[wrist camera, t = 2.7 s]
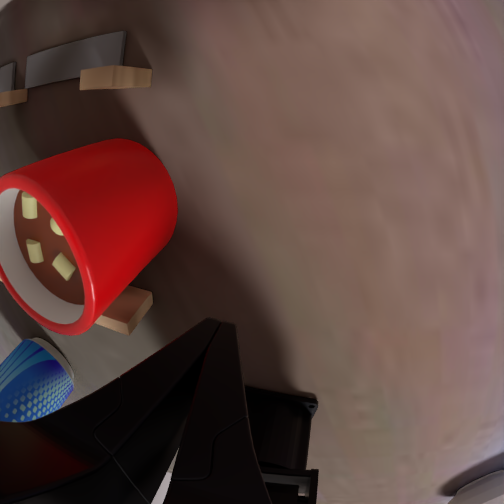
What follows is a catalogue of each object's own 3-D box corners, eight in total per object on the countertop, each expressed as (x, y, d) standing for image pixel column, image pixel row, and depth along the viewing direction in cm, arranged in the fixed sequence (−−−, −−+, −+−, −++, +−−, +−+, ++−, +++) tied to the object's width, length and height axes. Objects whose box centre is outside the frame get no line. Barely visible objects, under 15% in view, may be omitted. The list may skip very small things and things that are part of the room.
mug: (41, 119, 15) (-52, 147, 9) (190, 156, 15) (95, 206, 8) (38, 219, 19) (-35, 266, 12) (166, 276, 19) (101, 362, 12)
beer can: (19, 323, 28) (-57, 408, 13) (64, 344, 26) (-19, 451, 12) (43, 370, 31) (-17, 450, 17) (87, 392, 30) (26, 488, 16)
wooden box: (157, 27, 12) (100, 7, 8) (153, 303, 20) (117, 351, 16) (-33, 84, 15) (-72, 94, 10) (-17, 244, 23) (-47, 266, 19)
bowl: (526, 466, 27) (532, 498, 19) (451, 503, 36) (453, 534, 28) (519, 450, 24) (528, 492, 16) (423, 496, 32) (424, 536, 25)
